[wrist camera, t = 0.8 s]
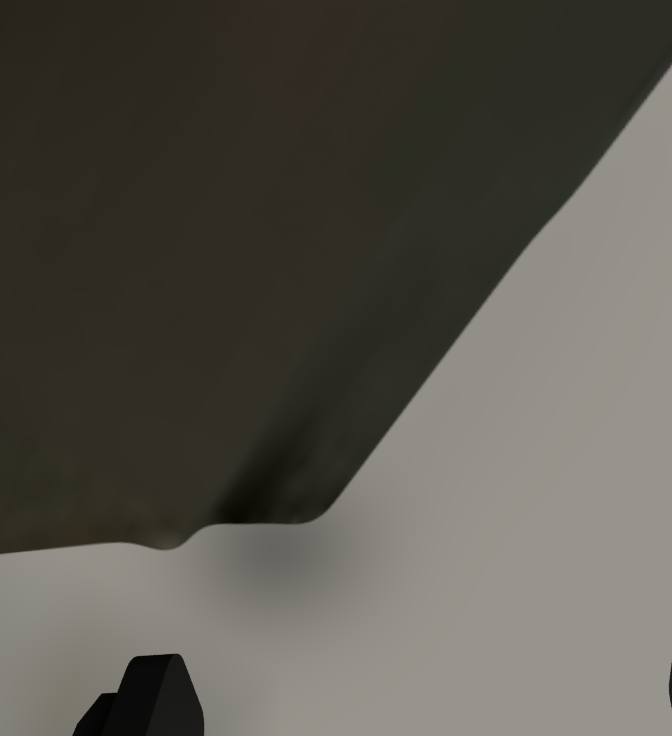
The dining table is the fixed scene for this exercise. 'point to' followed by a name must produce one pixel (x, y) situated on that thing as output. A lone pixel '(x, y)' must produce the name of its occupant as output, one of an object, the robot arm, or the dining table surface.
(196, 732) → the robot arm
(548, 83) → the dining table surface
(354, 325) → the dining table surface
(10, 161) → the dining table surface
